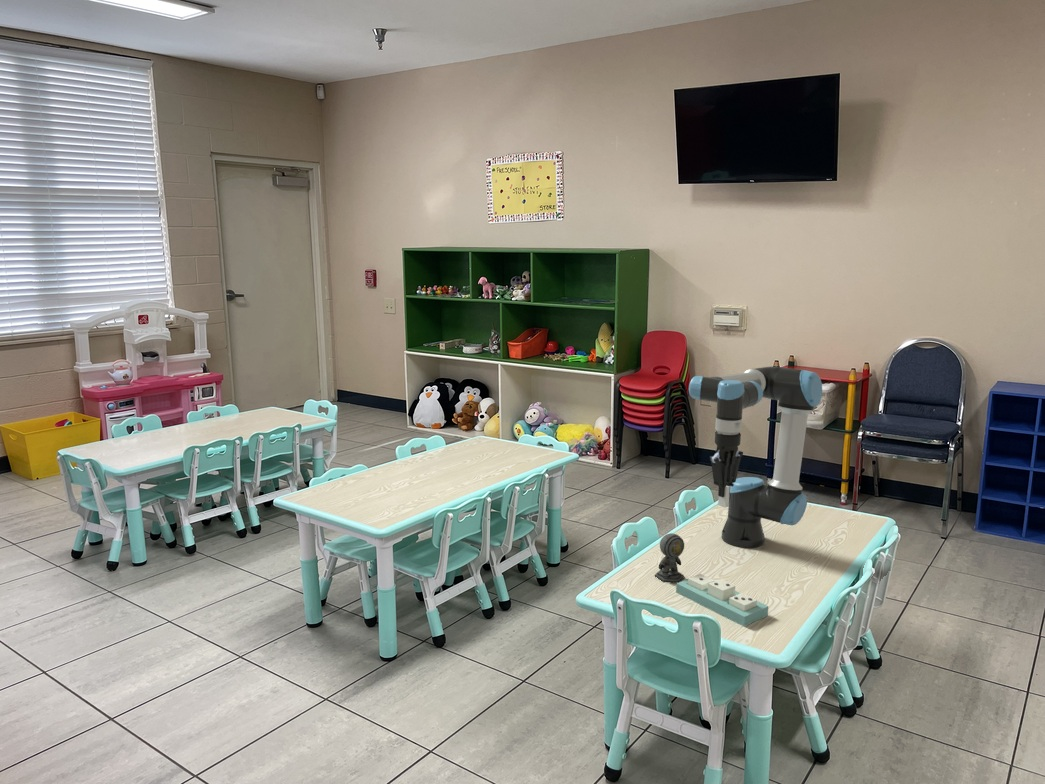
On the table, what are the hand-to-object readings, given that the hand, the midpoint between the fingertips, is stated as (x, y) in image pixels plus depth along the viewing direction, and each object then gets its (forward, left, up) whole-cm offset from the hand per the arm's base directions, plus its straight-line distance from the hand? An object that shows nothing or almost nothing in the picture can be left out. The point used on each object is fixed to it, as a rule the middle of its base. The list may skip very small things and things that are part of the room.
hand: (723, 505), depth 238 cm
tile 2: (+6, -6, -26) cm, 27 cm away
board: (+6, -6, -28) cm, 30 cm away
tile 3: (+14, -6, -28) cm, 31 cm away
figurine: (-16, -5, -29) cm, 33 cm away
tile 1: (-2, -6, -28) cm, 28 cm away
